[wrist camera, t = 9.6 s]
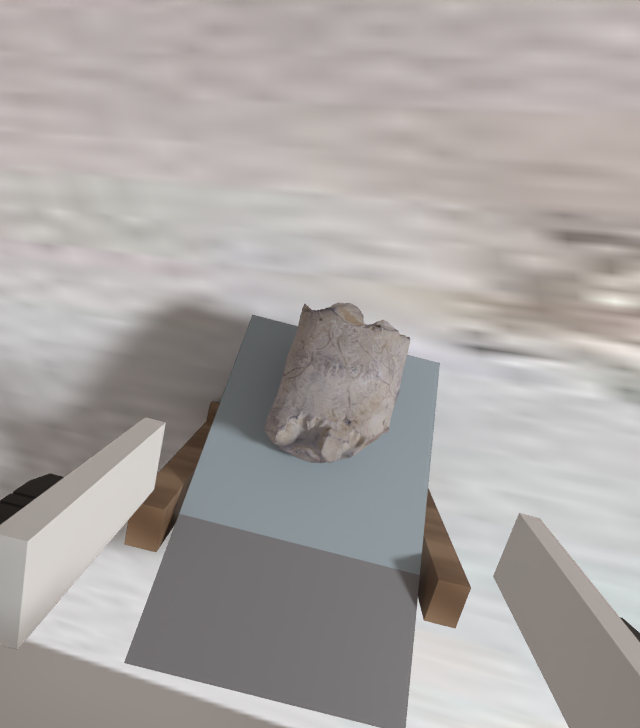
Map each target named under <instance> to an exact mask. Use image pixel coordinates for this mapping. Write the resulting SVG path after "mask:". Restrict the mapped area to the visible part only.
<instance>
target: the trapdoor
mask: <svg viewBox="0 0 640 728" xmlns="http://www.w3.org/2000/svg"><path fill="white" fill-rule="evenodd" d="M297 329H298V326H294V325H290V324H286V323H282V322H278V321H274V320H271V319H267V318H263V317H259V316H255V315H252V318H251V321H250V323H249V326H248V329H247V332H246V334H245V337H244V340H243V342H242V345H241V348H240V351H239V353H238V356H237V359H236V361H235V364H234V367H233V369H232V372H231V375H230V378H229V380H228V383H227V386H226V388H225V391H224V394H223V397H222V399H221V402H220V405H219V407H218V410H217V413H216V415H215V418H214V421H213V424H212V426H211V429H210V432H209V434H208V437H207V440H206V443H205V445H204V448H203V451H202V453H201V456H200V459H199V462H198V464H197V467H196V470H195V472H194V475H193V478H192V480H191V483H190V486H189V489H188V491H187V494H186V497H185V499H184V502H183V505H182V508H181V510H180V513H179V516H178V518H177V521H176V524H175V527H174V529H173V532H172V535H171V537H170V540H169V543H168V545H167V548H166V551H165V554H164V556H163V559H162V562H161V564H160V567H159V570H158V573H157V575H156V578H155V581H154V583H153V586H152V589H151V591H150V594H149V597H148V600H147V602H146V605H145V608H144V610H143V613H142V616H141V619H140V621H139V624H138V627H137V629H136V632H135V635H134V638H133V640H132V643H131V646H130V648H129V651H128V654H127V656H126V659H125V662H124V663H127V664H131V665H135V666H139V667H143V668H147V669H151V670H155V671H158V672H162V673H166V674H170V675H174V676H178V677H182V678H186V679H190V680H194V681H198V682H202V683H206V684H210V685H214V686H218V687H222V688H226V689H230V690H234V691H238V692H242V693H246V694H250V695H254V696H258V697H261V698H265V699H269V700H273V701H277V702H281V703H285V704H289V705H293V706H297V707H301V708H305V709H309V710H313V711H317V712H321V713H325V714H329V715H333V716H337V717H341V718H345V719H349V720H353V721H357V722H361V723H364V724H368V725H372V726H376V727H380V728H405V727H406V717H407V706H408V695H409V685H410V674H411V663H412V653H413V642H414V631H415V621H416V610H417V599H418V589H419V578H420V567H421V557H422V546H423V535H424V525H425V514H426V503H427V493H428V482H429V471H430V461H431V450H432V439H433V429H434V418H435V407H436V397H437V386H438V376H439V365H440V363H437V362H433V361H429V360H425V359H421V358H417V357H414V356H410V355H407V357H406V361H405V365H404V369H403V373H402V374H403V375H402V381H401V386H400V391H399V395H398V398H397V400H396V403H395V405H394V409H393V412H392V416H391V419H390V425H389V431H388V432H386V433H383V434H382V435H381V436H380V437H379V438H378V439H377V440H375V441H374V442H372V443H370V444H369V445H368V446H366V447H365V448H363V449H362V450H361V451H360V452H358V453H357V454H356V455H354V456H353V457H351V458H346V459H341V460H337V461H334V462H332V463H328V462H325V463H311V462H307V461H304V460H302V459H299V458H297V457H294V456H293V455H291V454H290V453H288V452H285V451H284V450H282V449H280V448H279V447H278V446H277V445H276V444H272V442H271V441H270V439H269V438H268V436H267V434H266V432H265V431H264V429H263V428H264V426H265V423H266V420H267V417H268V414H269V411H270V409H271V407H272V405H273V403H274V400H275V397H276V394H277V392H278V389H279V386H280V382H281V379H282V374H283V370H284V366H285V362H286V359H287V356H288V353H289V351H290V348H291V346H292V343H293V340H294V337H295V334H296V332H297Z"/></svg>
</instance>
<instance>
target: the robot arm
mask: <svg viewBox="0 0 640 728" xmlns="http://www.w3.org/2000/svg"><path fill="white" fill-rule="evenodd" d="M165 424H166V422H162V421H158V420H154V419H150V418H146V417H145V418H143V419H142V420H141V421H139V422H138V423H137V424H135V425H134V426H133V427H131V428H130V429H129V430H127V431H126V432H125V433H123V434H122V435H120V436H119V437H118V438H116V439H115V440H114V441H112V442H111V443H110V444H108V445H107V446H106V447H104V448H103V449H102V450H100V451H99V452H98V453H96V454H95V455H94V456H92V457H91V458H90V459H88V460H87V461H86V462H84V463H83V464H81V465H80V466H79V467H77V468H76V469H75V470H73V471H72V472H71V473H69V474H68V475H67V476H65V477H62V476H58V475H54V474H47V475H45V476H42V477H39V478H36V479H33V480H30V481H28V482H27V483H25V484H24V485H22V486H21V487H20V488H18V489H17V490H15V491H14V492H13V494H9V495H8V496H6V497H5V498H3V499H2V500H0V646H4V647H8V648H12V649H16V650H17V649H18V648H19V647H20V646H21V644H22V643H23V642H24V641H25V640H26V639H27V638H28V636H29V635H30V634H31V633H32V632H33V631H34V629H35V628H36V627H37V626H38V625H39V624H40V622H41V621H42V620H43V619H44V618H45V617H46V615H47V614H48V613H49V612H50V611H51V610H52V608H53V607H54V606H55V605H56V604H57V603H58V601H59V600H60V599H61V598H62V597H63V596H64V594H65V593H66V592H67V591H68V590H69V588H70V587H71V586H72V585H73V584H74V583H75V581H76V580H77V579H78V578H79V577H80V576H81V574H82V573H83V572H84V571H85V570H86V569H87V567H88V566H89V565H90V564H91V563H92V562H93V560H94V559H95V558H96V557H97V556H98V555H99V553H100V552H101V551H102V550H103V549H104V548H105V546H106V545H107V544H108V543H109V542H110V541H111V539H112V538H113V537H114V536H115V535H116V534H117V532H118V531H119V530H120V529H121V528H122V527H123V525H124V524H125V523H126V522H127V521H128V520H129V518H130V517H131V516H132V515H133V514H134V513H135V511H136V510H137V509H138V508H139V507H140V506H141V504H142V503H143V502H144V501H145V500H146V499H147V497H148V496H149V495H150V494H151V493H152V492H153V490H154V487H155V481H156V476H157V470H158V464H159V459H160V453H161V447H162V442H163V436H164V430H165ZM493 577H494V579H495V581H496V583H497V585H498V587H499V589H500V591H501V593H502V595H503V597H504V599H505V601H506V603H507V605H508V607H509V609H510V611H511V613H512V615H513V617H514V619H515V621H516V623H517V625H518V627H519V629H520V631H521V633H522V635H523V637H524V639H525V641H526V643H527V645H528V647H529V649H530V651H531V653H532V655H533V657H534V659H535V661H536V663H537V665H538V667H539V669H540V671H541V673H542V675H543V677H544V679H545V681H546V683H547V685H548V687H549V689H550V691H551V693H552V695H553V697H554V699H555V701H556V703H557V705H558V707H559V709H560V711H561V713H562V715H563V717H564V719H565V721H566V723H567V725H568V727H569V728H640V633H639V632H638V631H637V630H636V629H635V628H633V627H632V626H631V625H630V624H629V623H628V622H627V621H625V620H624V619H623V618H620V617H619V616H618V615H617V613H616V612H615V611H614V610H613V608H612V607H611V606H610V605H609V604H608V602H607V601H606V600H605V599H604V597H603V596H602V595H601V594H600V592H599V591H598V590H597V589H596V587H595V586H594V585H593V584H592V582H591V581H590V580H589V579H588V578H587V576H586V575H585V574H584V573H583V571H582V570H581V569H580V568H579V566H578V565H577V564H576V563H575V561H574V560H573V559H572V558H571V556H570V555H569V554H568V553H567V551H566V550H565V549H564V548H563V547H562V545H561V544H560V543H559V542H558V540H557V539H556V538H555V537H554V535H553V534H552V533H551V532H550V530H549V529H548V528H547V527H546V525H545V524H544V523H543V522H542V521H541V519H540V518H536V517H533V516H529V515H525V514H521V513H519V515H518V517H517V520H516V522H515V525H514V527H513V529H512V532H511V534H510V537H509V539H508V542H507V544H506V546H505V549H504V551H503V554H502V556H501V559H500V561H499V563H498V566H497V568H496V571H495V573H494V576H493Z"/></svg>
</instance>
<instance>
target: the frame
mask: <svg viewBox="0 0 640 728" xmlns="http://www.w3.org/2000/svg"><path fill="white" fill-rule="evenodd" d="M219 405H220V403H217V402H214V401H212V402H211V403H210V407H209V412H208V417H207V421H206V423H205V424H204V425H203V426H202V427H201V428H200V429H199V430H198V431H197V432H196V433H195V434H194V435H193V436H192V437H191V439H190V440H189V441H188V442H187V443H186V444H185V445H184V446H183V447H182V448H181V449H180V450H179V451H178V452H177V454H176V455H175V456H174V457H173V458H172V459H171V460H170V461H169V462H168V463H167V464H166V465H165V466H164V467H163V468H162V470H161V471H160V472H159V473H158V474H157V476H156V481H155V487H154V490H153V492H152V493H151V494H150V495H149V496H148V497H147V499H146V500H145V501H144V502H143V503H142V504H141V506H140V507H139V508H138V509H137V510H136V511H135V513H134V514H133V515H132V516H131V517H130V518H129V520H128V526H127V532H126V538H125V544H126V545H129V546H133V547H137V548H141V549H145V550H149V551H153V552H157V550H158V549H159V547H160V546H161V544H162V543H163V541H164V540H165V538H166V537H167V535H168V534H169V532H170V531H171V529H172V528H173V526H174V525H175V523H176V521H177V518H178V516H179V513H180V510H181V508H182V505H183V502H184V499H185V497H186V494H187V491H188V489H189V486H190V483H191V480H192V478H193V475H194V472H195V470H196V467H197V464H198V462H199V459H200V456H201V453H202V451H203V448H204V445H205V443H206V440H207V437H208V434H209V432H210V429H211V426H212V424H213V421H214V418H215V415H216V413H217V410H218V407H219ZM470 589H471V587H470V584H469V582H468V580H467V577H466V575H465V573H464V570H463V568H462V566H461V563H460V561H459V559H458V556H457V554H456V552H455V549H454V547H453V545H452V542H451V540H450V538H449V535H448V533H447V531H446V528H445V526H444V524H443V521H442V519H441V517H440V515H439V512H438V510H437V508H436V505H435V503H434V501H433V498H432V496H431V494H430V491H429V489H428V493H427V503H426V514H425V525H424V535H423V546H422V557H421V567H420V578H419V589H418V599H419V603H420V607H421V611H422V615H423V619H424V621H428V622H432V623H436V624H440V625H444V626H448V627H452V628H456V625H457V623H458V620H459V618H460V615H461V612H462V610H463V607H464V605H465V602H466V599H467V597H468V594H469V592H470Z"/></svg>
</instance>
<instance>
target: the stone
mask: <svg viewBox="0 0 640 728" xmlns="http://www.w3.org/2000/svg"><path fill="white" fill-rule="evenodd" d="M363 317H364V316H363V314H362V313H361V311H360V309H359V308H358V307H357V306H355V305H353V304H350V303H345V304H344V303H336V304H334V305H332V306H331V307H329V308H326V309H321V310H317V311H315V310H311V309H310V308H309V307H308V306H307V305H306V304H304V306H303V308H302V313H301V316H300V321H299V325H298V329H297V332H296V334H295V337H294V340H293V343H292V346H291V348H290V351H289V353H288V356H287V359H286V362H285V366H284V370H283V374H282V379H281V382H280V386H279V389H278V392H277V394H276V397H275V400H274V403H273V405H272V407H271V409H270V411H269V414H268V417H267V420H266V423H265V426H264V428H263V429H264V431H265V432H266V434H267V436H268V438H269V439H270V441H271V442H272V444H276V445H277V446H278V447H279V448H280V449H282V450H284V451H285V452H288V453H290V454H291V455H293V456H294V457H297V458H299V459H302V460H304V461H307V462H311V463H325V462H328V463H332V462H334V461H337V460H341V459H346V458H351V457H353V456H354V455H356V454H357V453H358V452H360V451H361V450H362V449H363V448H365V447H366V446H368V445H369V444H370V443H372V442H374V441H375V440H377V439H378V438H379V437H380V436H381V435H382V434H383V433H386V432H388V431H389V425H390V419H391V416H392V412H393V409H394V405H395V403H396V400H397V398H398V395H399V391H400V386H401V381H402V375H403V374H402V373H403V369H404V365H405V361H406V357H407V353H408V348H409V343H410V337H406V336H405V335H400V334H399V332H398V330H396V329H395V328H394V327H392V326H391V325H390V324H389V323H388V322H387V321H385V320H381V321H378V322H376V323H374V324H370V325H366V324H364V322H363Z"/></svg>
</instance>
